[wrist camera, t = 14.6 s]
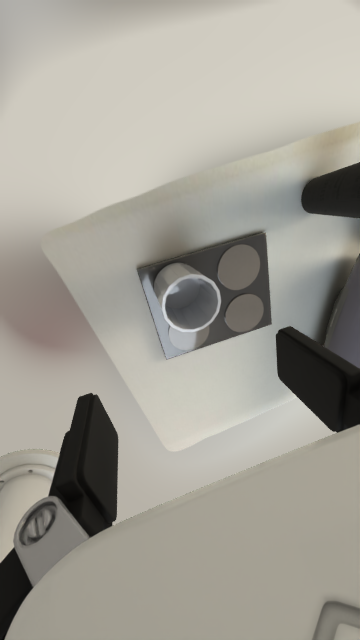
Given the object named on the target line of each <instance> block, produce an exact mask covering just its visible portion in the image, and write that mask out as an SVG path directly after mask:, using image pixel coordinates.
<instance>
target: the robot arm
mask: <svg viewBox="0 0 360 640" xmlns="http://www.w3.org/2000/svg"><path fill="white" fill-rule="evenodd" d="M276 350H277V371H278V376H279V378H280V380H281V381H282V382H283V383H284V384H285V385H286V386H287V387H288V388H289V389H290V390H291V391H292V392H293V393H294V394H295V395H296V396H297V397H298V398H299V399H300V400H301V401H302V402H303V403H304V404H305V405H306V406H307V407H308V408H309V409H310V410H311V411H312V412H313V413H314V414H315V415H316V416H318V418H319V419H320V420H321V421H322V422H323V423H324V424H325V425H326V426H327V427H328V428H329V429H330V430H332V431H336V432H337V433H336V434H333V435H331V436H328V437H326V438H324V439H321V440H318V441H316V442H313V443H311V444H308V445H306V446H303V447H301V448H298V449H296V450H293V451H291V452H288V453H286V454H283V455H281V456H278V457H276V458H273V459H271V460H268V461H266V462H263V463H261V464H258V465H256V466H254V467H251V468H249V469H246V470H244V471H241V472H239V473H236V474H234V475H231V476H229V477H227V478H224V479H222V480H219V481H217V482H214V483H212V484H210V485H207V486H205V487H202V488H200V489H197V490H195V491H192V492H190V493H188V494H185V495H183V496H180V497H178V498H175V499H173V500H171V501H168V502H166V503H164V504H161V505H159V506H156V507H154V508H152V509H149V510H147V511H145V512H142V513H140V514H138V515H136V516H133V517H131V518H129V519H126V520H124V521H122V522H120V523H118V524H116V525H114V526H112V522H113V521H115V520H116V517H117V471H118V435H117V432H116V430H115V428H114V426H113V424H112V422H111V420H110V418H109V416H108V414H107V413H106V411H105V409H104V407H103V405H102V403H101V401H100V399H99V397H98V395H93V394H92V393H90V394H86V395H84V396H80V397H79V398H78V400H77V404H76V409H75V412H74V416H73V420H72V424H71V428H70V431H68V432H67V433H66V434H65V436H64V440H63V443H62V447H61V451H60V454H59V458H58V462H57V465H56V469H53V468H52V467H49V466H45V465H39V464H27V465H21V466H18V467H14V468H12V469H10V470H7V471H6V472H4V473H3V474H2V475H1V476H0V640H360V368H358V367H356V366H355V365H353V364H352V363H350V362H348V361H347V360H345V359H343V358H342V357H340V356H339V355H337V354H335V353H334V352H332V351H330V350H329V349H327V348H325V347H324V346H322V345H321V344H319V343H317V342H316V341H314V340H312V339H311V338H309V337H308V336H306V335H304V334H303V333H301V332H299V331H298V330H296V329H294V328H293V327H291V326H289V327H286V328H283V329H280V330H279V331H278V333H277V334H276Z"/></svg>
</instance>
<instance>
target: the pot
mask: <svg viewBox="0 0 360 640" xmlns="http://www.w3.org/2000/svg"><path fill="white" fill-rule="evenodd" d="M154 293H155V296H156V299H157V302H158V304H159V307H160V309H161V311H162V314H163V316H164V319H165V320H166V321H167V322H168V324H169V325H170V326H171V327H172V328H174V329H177V330H179V331H181V332H195V331H198V330H201V329H204V328H205V327H206V326H208V325H209V324H210V323H212V322H213V320H214V319H215V317H216V316H217V314H218V313H219V309H220V305H221V297H220V291H219V289H218V288H217V286H216V285H215V283H214V282H213V281H212V280H211V279H209V278H208V277H206V276H205V275H203V274H202V273H201V272H199V271H198V270H196V269H195V268H193V267H191V266H190V265H188V264H185V263H173V264H170V265H168V266H166V267H164V268H163V269H162V270H161V271H160V272H159V273H158V275H157V277H156V279H155V282H154Z"/></svg>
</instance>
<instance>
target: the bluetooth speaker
mask: <svg viewBox="0 0 360 640" xmlns="http://www.w3.org/2000/svg"><path fill="white" fill-rule="evenodd" d="M326 335H327V337H326V340H325V344H324V347H325V348H327V349H329V350H330V351H332V352H334V353H335V354H337V355H339V356H340V357H342V358H343V359H345V360H347V361H348V362H350V363H352V364H353V365H355V366H356V367H358V368H360V254H359V256H358V258H357V260H356V262H355V264H354V266H353V268H352V271H351V273H350V275H349V278H348V280H347V283H346V285H345V287H343V288H342V290H341V291H340V293H339V295H338V297H337V300H336V302H335V305H334V308H333V311H332V313H331V316H330V319H329V322H328V326H327V330H326Z"/></svg>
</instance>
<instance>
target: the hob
mask: <svg viewBox="0 0 360 640" xmlns="http://www.w3.org/2000/svg"><path fill="white" fill-rule="evenodd" d="M173 263H185V264H188V265H190V266H191V267H193V268H195V269H196V270H198V271H199V272H201V273H202V274H203V275H205V276H206V277H208V278H209V279H211V280H212V281H213V282H214V283H215V285H216V286H217V288H218V289H219V291H220V297H221V305H220V309H219V313H218V314H217V316H216V317H215V319H214V320H213V322H212V323H210V324H209V325H208V326H206V327H205V328H204V329H201V330H198V331H195V332H181V331H179V330H177V329H174V328H172V327H171V326H170V325H169V324H168V322H167V321H166V320H165V319H164V316H163V314H162V311H161V309H160V307H159V304H158V302H157V299H156V296H155V293H154V282H155V279H156V277H157V275H158V273H159V272H160V271H161V270H162V269H163V268H164V267H166V266H168V265H170V264H173ZM137 271H138V274H139V277H140V280H141V284H142V287H143V290H144V293H145V296H146V299H147V302H148V305H149V308H150V311H151V314H152V317H153V320H154V323H155V326H156V329H157V332H158V336H159V339H160V342H161V345H162V348H163V351H164V354H165V357H166V359H170V358H173V357H176V356H179V355H182V354H185V353H188V352H190V351H193V350H196V349H199V348H202V347H205V346H208V345H211V344H214V343H217V342H220V341H223V340H226V339H229V338H232V337H235V336H238V335H241V334H244V333H247V332H250V331H253V330H256V329H259V328H262V327H265V326H268V325H271V324H272V322H271V306H270V290H269V274H268V258H267V243H266V233H263V232H262V233H259V234H255V235H252V236H248V237H245V238H241V239H238V240H235V241H231V242H228V243H224V244H221V245H217V246H214V247H210V248H207V249H204V250H200V251H197V252H193V253H190V254H186V255H183V256H180V257H176V258H173V259H169V260H166V261H162V262H159V263H156V264H152V265H149V266H145V267H142V268H138V269H137Z"/></svg>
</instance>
